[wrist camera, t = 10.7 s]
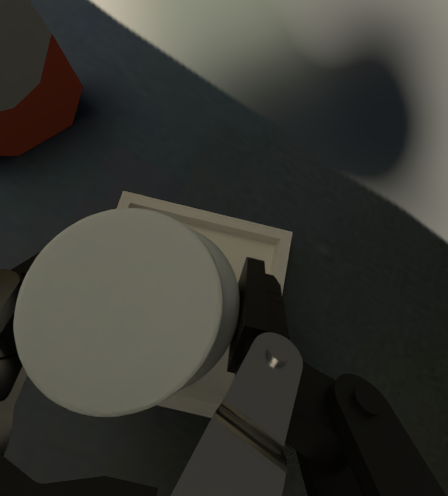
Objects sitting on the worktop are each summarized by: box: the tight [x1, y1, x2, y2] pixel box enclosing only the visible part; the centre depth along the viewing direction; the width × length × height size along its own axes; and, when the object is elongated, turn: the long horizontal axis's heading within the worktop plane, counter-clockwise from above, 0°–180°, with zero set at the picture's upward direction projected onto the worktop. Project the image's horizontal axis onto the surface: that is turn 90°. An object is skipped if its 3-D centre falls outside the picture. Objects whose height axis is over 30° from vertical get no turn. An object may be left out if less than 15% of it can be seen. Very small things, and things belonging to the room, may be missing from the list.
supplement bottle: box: [13, 208, 240, 417], centre depth 9 cm, size 5×5×10 cm
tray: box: [117, 191, 292, 418], centre depth 17 cm, size 14×14×2 cm
